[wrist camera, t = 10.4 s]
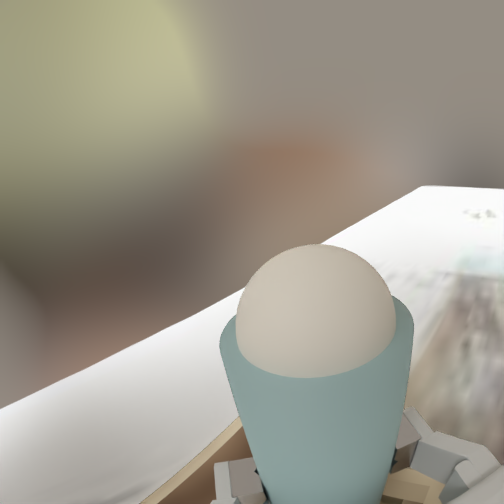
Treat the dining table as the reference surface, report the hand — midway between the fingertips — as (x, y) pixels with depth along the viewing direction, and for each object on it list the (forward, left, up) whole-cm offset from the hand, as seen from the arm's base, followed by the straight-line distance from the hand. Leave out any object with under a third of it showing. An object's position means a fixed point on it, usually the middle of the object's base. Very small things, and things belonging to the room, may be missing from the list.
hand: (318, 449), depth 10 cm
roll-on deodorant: (+1, -1, -7) cm, 7 cm away
